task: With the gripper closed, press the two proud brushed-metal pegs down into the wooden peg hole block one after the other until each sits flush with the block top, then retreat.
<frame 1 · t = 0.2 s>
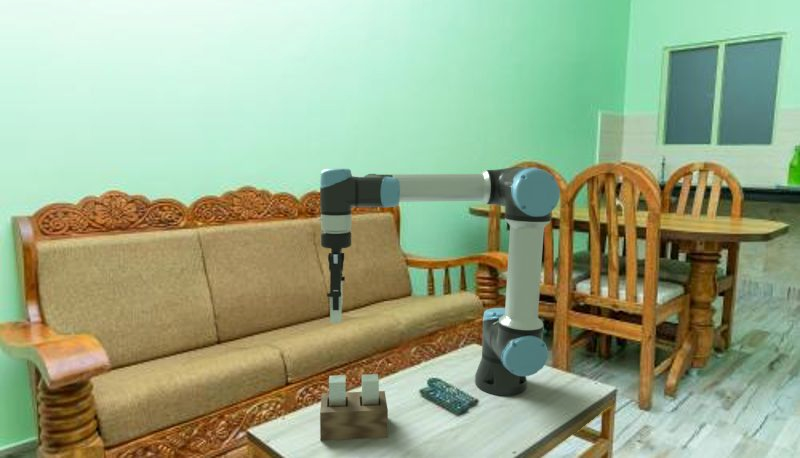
hand: (336, 313, 132), 27 cm above the table, fingers open, 13 cm apart
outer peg: (337, 390, 127), point 10 cm above the table, slide at 0.0 cm
wooden peg hole block: (353, 427, 129), on the table
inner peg: (370, 389, 128), point 10 cm above the table, slide at 0.0 cm
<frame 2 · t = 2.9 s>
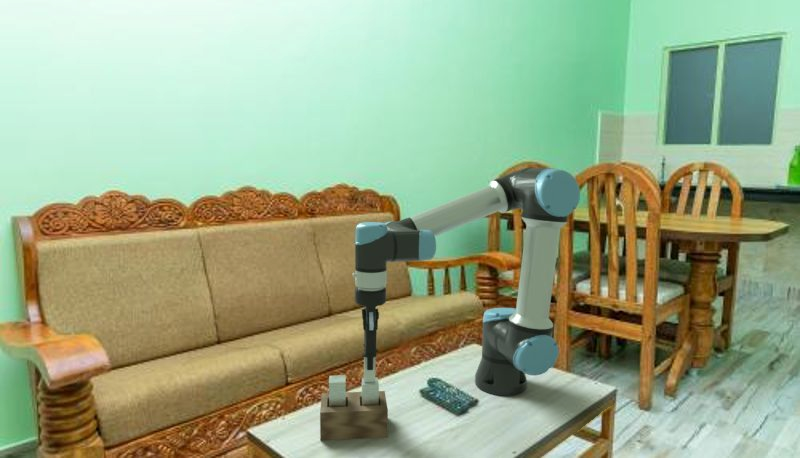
hand: (369, 380, 128), 12 cm above the table, fingers closed
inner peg: (370, 392, 128), point 9 cm above the table, slide at 0.9 cm, touching gripper
everything else where it was.
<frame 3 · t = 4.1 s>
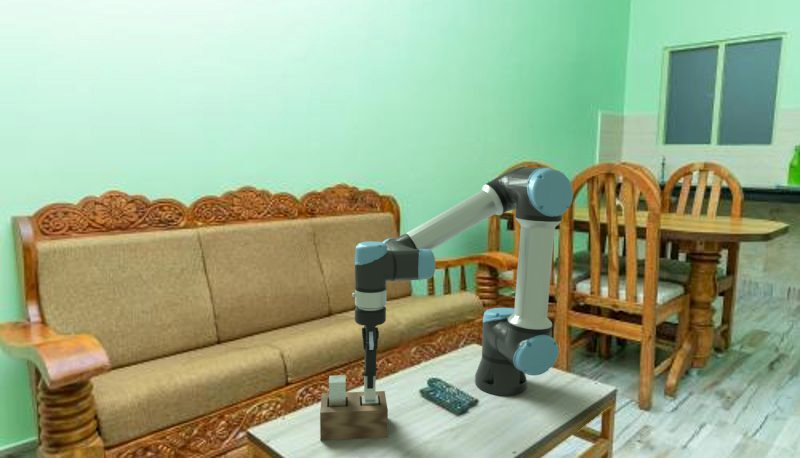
hand: (369, 398, 128), 8 cm above the table, fingers closed
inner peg: (369, 410, 129), point 4 cm above the table, slide at 5.6 cm, touching gripper
everything else where it was.
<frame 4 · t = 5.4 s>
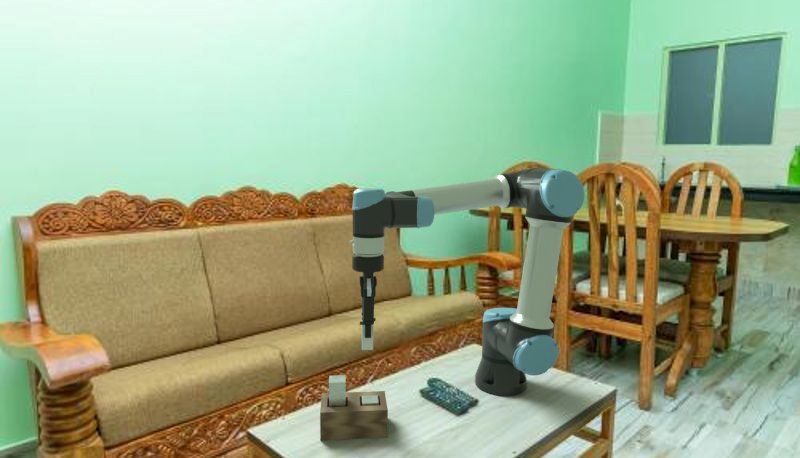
hand: (367, 348, 126), 21 cm above the table, fingers closed
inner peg: (369, 411, 129), point 4 cm above the table, slide at 5.6 cm
everything else where it was.
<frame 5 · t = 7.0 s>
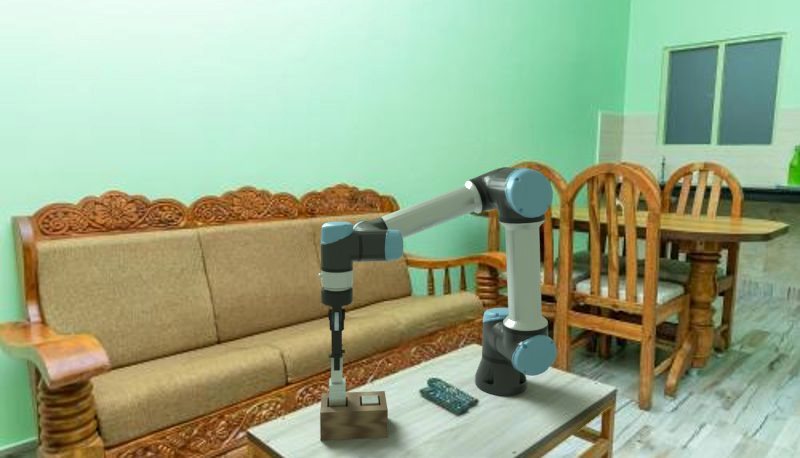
hand: (336, 380, 127), 13 cm above the table, fingers closed
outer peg: (337, 393, 127), point 9 cm above the table, slide at 0.7 cm, touching gripper
everything else where it was.
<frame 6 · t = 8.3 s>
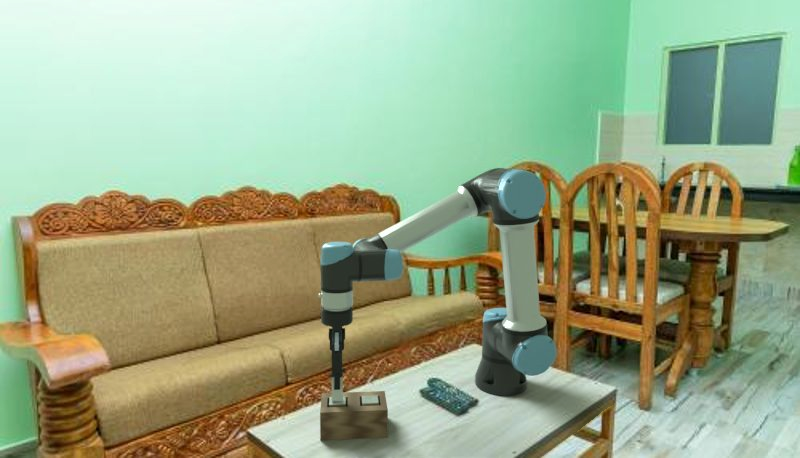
hand: (337, 399, 128), 8 cm above the table, fingers closed
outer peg: (337, 412, 128), point 4 cm above the table, slide at 5.6 cm, touching gripper
everything else where it was.
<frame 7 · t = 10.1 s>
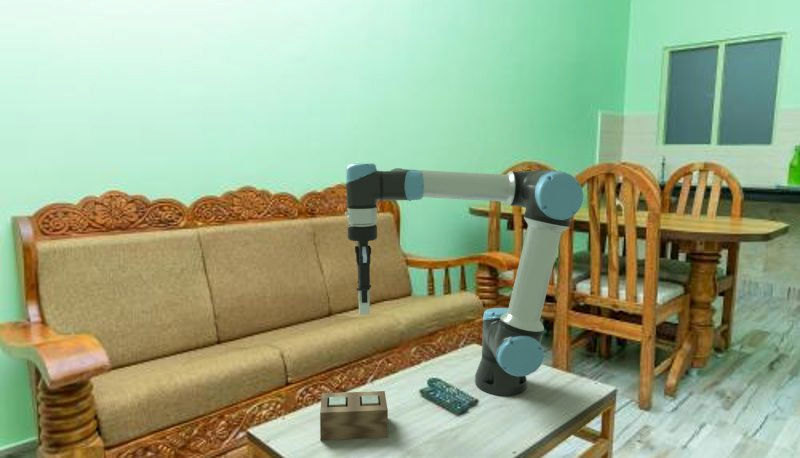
hand: (364, 313, 136), 26 cm above the table, fingers closed
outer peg: (337, 412, 128), point 4 cm above the table, slide at 5.6 cm
everything else where it was.
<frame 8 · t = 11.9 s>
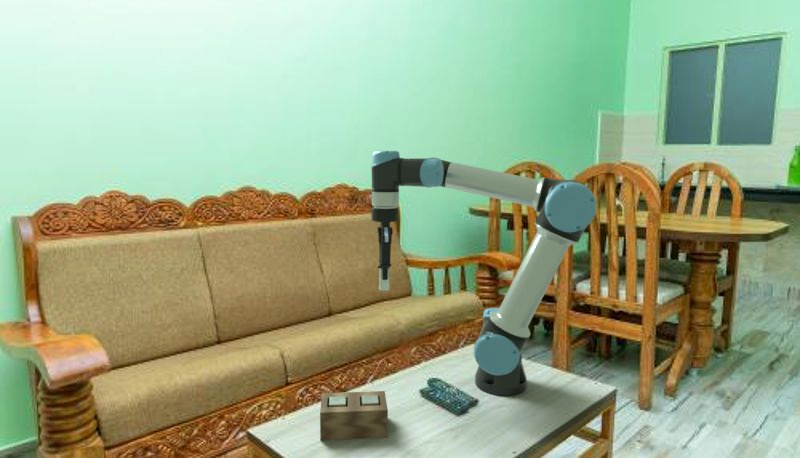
hand: (384, 289, 147), 29 cm above the table, fingers closed
nothing on the table moved.
at the end: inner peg slide at 5.6 cm; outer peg slide at 5.6 cm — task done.
